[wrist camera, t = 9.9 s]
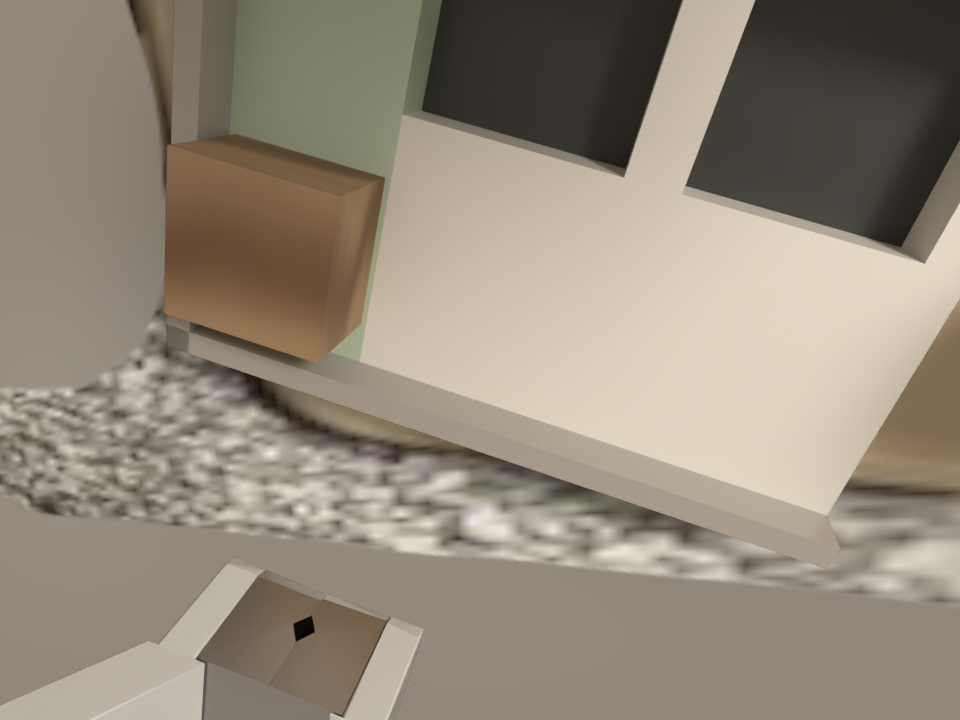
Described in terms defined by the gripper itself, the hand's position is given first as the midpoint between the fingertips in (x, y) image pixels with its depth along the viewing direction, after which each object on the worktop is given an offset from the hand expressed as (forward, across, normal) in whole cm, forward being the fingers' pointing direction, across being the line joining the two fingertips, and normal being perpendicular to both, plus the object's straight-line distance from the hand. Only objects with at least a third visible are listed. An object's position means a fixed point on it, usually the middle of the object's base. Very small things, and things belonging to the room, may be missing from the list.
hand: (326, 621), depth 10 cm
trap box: (+19, 0, -3) cm, 20 cm away
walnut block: (+17, +9, +1) cm, 19 cm away
